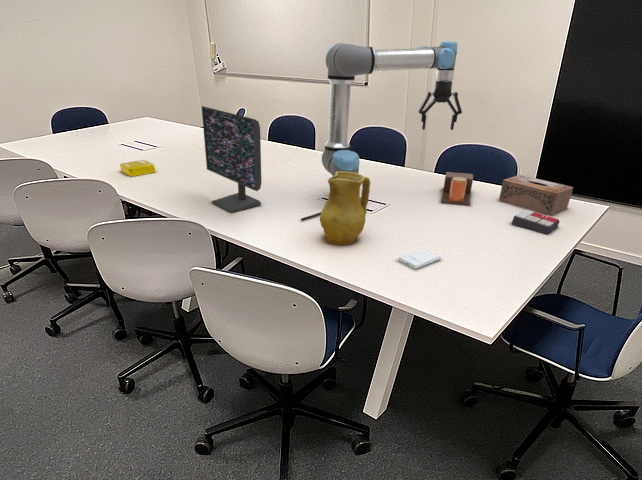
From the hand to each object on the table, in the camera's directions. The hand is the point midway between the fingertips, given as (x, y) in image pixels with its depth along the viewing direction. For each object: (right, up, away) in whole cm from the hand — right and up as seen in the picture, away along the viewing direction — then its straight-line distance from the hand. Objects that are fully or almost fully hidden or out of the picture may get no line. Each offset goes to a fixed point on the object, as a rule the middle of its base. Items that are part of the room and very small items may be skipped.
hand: (437, 129), depth 214 cm
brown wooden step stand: (+10, -32, +3) cm, 33 cm away
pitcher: (-47, -58, -41) cm, 86 cm away
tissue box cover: (+43, -38, -6) cm, 57 cm away
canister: (+8, -34, -3) cm, 36 cm away
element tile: (-160, -10, +38) cm, 165 cm away
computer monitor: (-96, -38, -8) cm, 103 cm away
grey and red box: (+33, -51, -29) cm, 67 cm away
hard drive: (-22, -68, -57) cm, 92 cm away
